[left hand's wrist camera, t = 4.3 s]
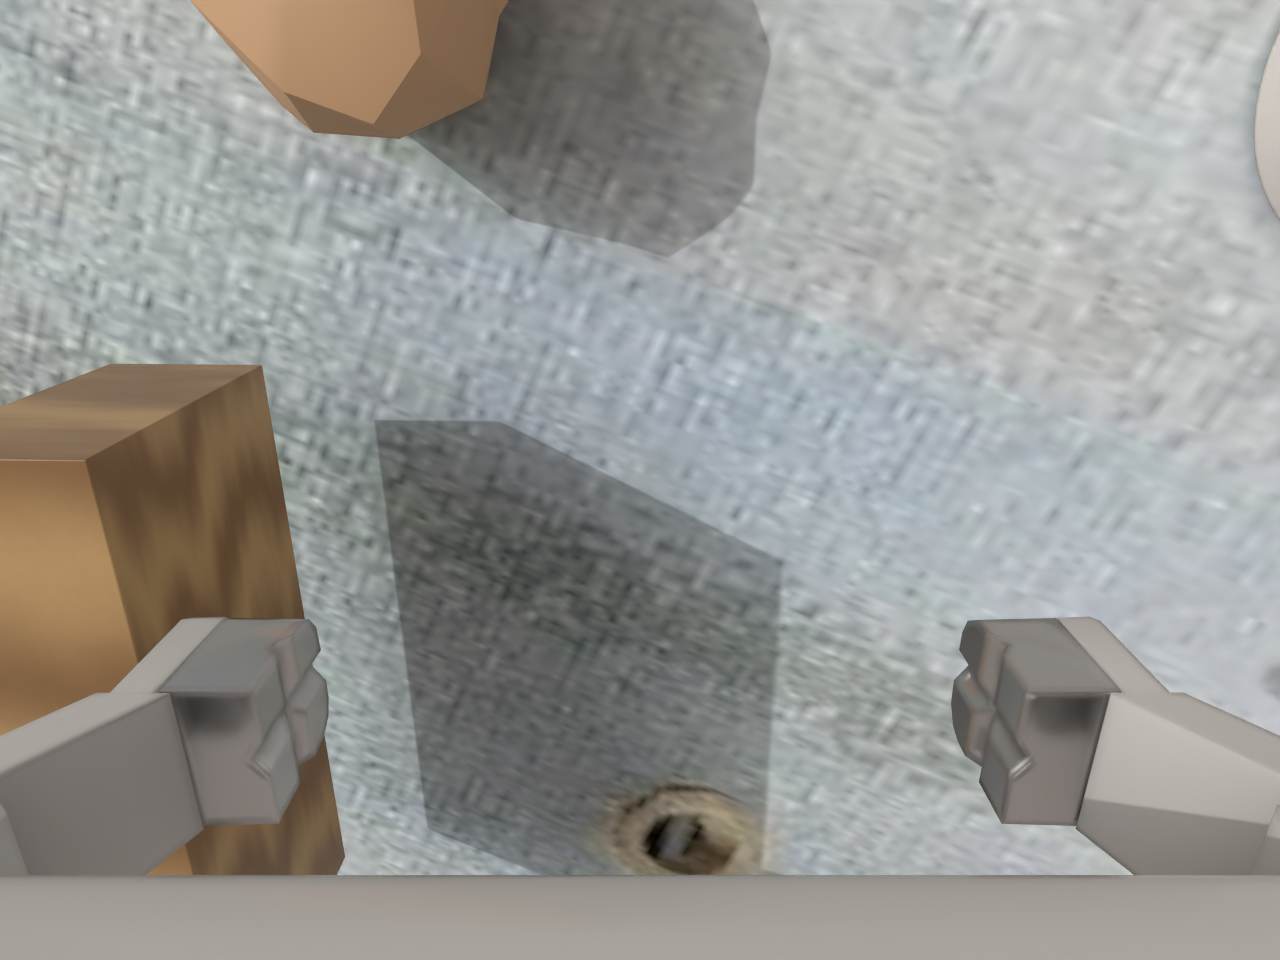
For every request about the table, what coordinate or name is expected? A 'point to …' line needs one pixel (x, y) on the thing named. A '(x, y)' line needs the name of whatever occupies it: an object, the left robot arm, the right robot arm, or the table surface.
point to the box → (149, 561)
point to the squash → (363, 58)
